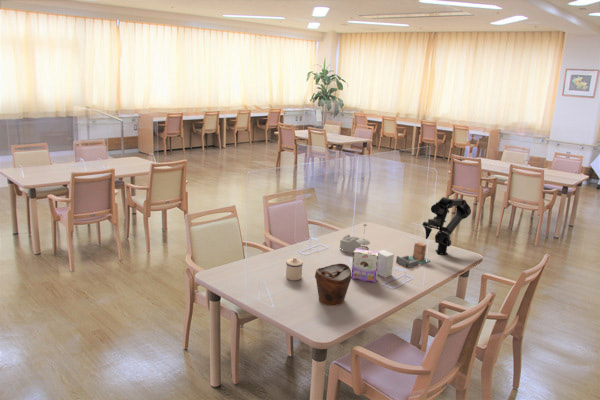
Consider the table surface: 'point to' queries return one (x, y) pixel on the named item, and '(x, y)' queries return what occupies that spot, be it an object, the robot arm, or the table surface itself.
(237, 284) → the table surface
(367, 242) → the french press
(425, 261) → the teal mat
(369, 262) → the candy box
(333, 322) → the table surface
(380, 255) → the small box
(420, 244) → the terracotta block
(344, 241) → the lumpy-topped squat cylinder
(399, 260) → the charcoal u-shaped frame
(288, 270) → the teacup with lid
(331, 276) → the brown tapered cylinder
